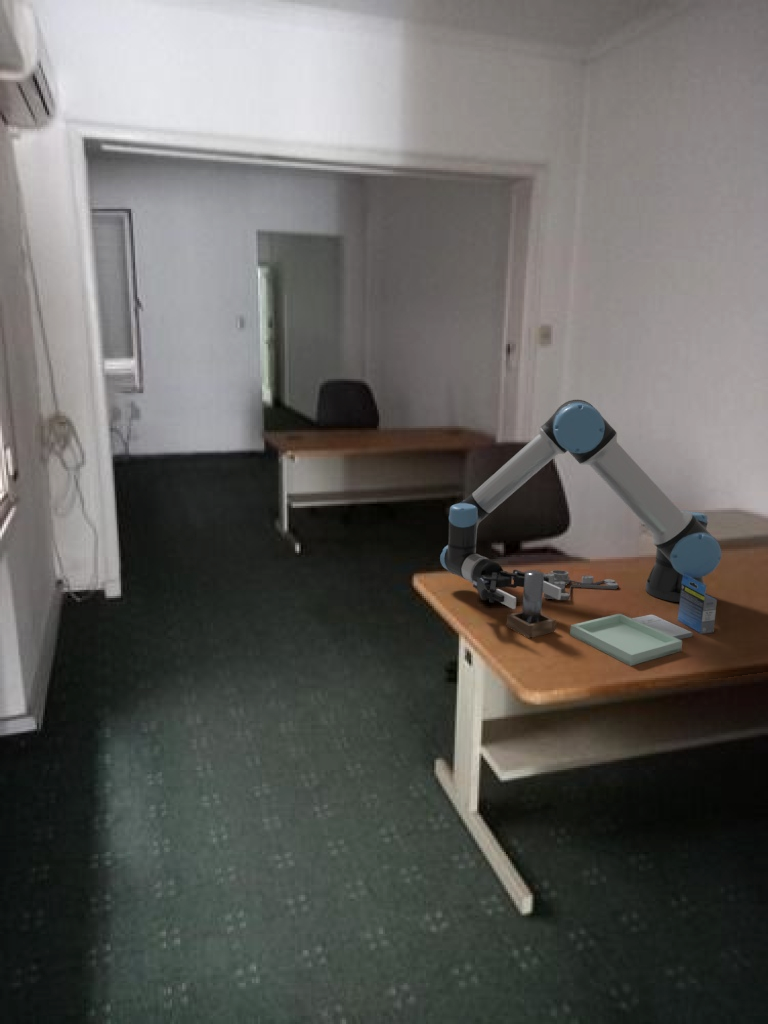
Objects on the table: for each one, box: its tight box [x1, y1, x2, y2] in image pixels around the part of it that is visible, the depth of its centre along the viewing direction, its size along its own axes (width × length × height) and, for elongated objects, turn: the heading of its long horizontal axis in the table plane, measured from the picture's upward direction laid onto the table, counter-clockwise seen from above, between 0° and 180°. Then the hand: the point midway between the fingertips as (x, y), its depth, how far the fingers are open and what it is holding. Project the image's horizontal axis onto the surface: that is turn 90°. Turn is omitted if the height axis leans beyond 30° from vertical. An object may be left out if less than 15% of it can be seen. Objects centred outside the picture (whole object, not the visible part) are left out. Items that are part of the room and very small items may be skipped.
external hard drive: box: [631, 614, 694, 640], centre depth 168 cm, size 2×8×12 cm
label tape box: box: [677, 574, 718, 634], centre depth 168 cm, size 9×4×12 cm, turn 14°
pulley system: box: [543, 569, 619, 601], centre depth 195 cm, size 27×5×15 cm
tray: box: [569, 612, 683, 667], centre depth 159 cm, size 16×18×2 cm
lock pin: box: [522, 569, 545, 624], centre depth 165 cm, size 4×4×14 cm
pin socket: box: [506, 611, 556, 639], centre depth 166 cm, size 8×8×3 cm
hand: (537, 598), depth 163 cm, fingers open, 13 cm apart
